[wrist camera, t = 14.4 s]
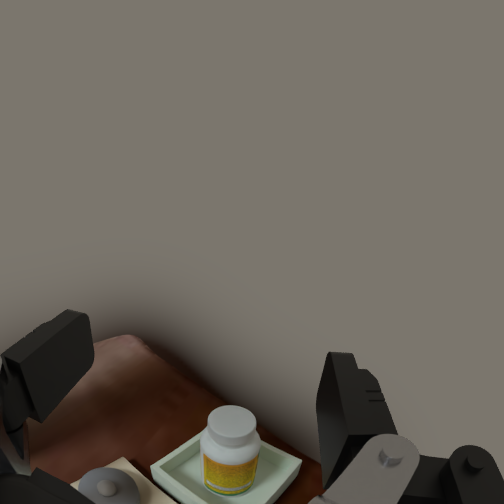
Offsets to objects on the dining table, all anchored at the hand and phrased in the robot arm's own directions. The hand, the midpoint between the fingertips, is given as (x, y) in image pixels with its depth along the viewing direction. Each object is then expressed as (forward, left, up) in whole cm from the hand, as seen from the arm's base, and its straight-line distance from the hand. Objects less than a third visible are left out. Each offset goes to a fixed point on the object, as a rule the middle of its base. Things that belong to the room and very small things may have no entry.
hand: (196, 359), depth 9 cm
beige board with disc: (-10, -1, -24) cm, 26 cm away
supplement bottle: (-5, +10, -23) cm, 26 cm away
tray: (-5, +10, -24) cm, 26 cm away
